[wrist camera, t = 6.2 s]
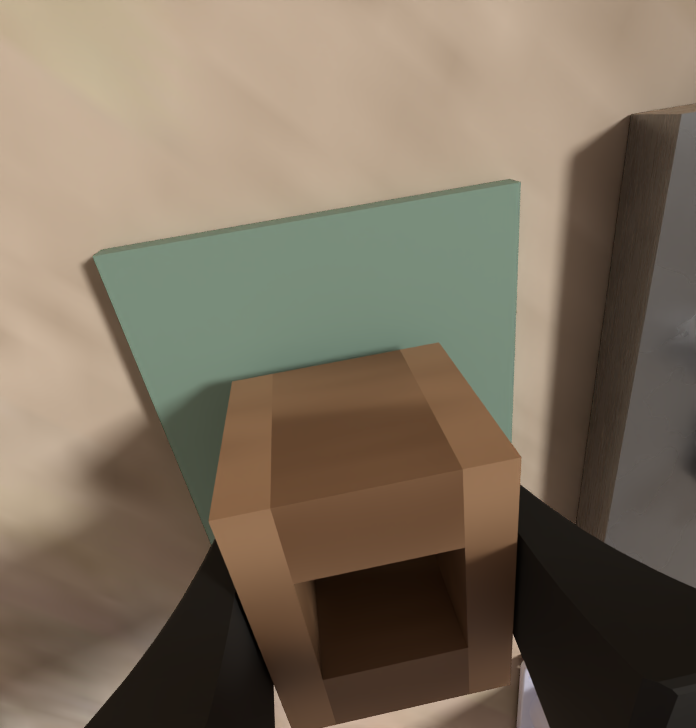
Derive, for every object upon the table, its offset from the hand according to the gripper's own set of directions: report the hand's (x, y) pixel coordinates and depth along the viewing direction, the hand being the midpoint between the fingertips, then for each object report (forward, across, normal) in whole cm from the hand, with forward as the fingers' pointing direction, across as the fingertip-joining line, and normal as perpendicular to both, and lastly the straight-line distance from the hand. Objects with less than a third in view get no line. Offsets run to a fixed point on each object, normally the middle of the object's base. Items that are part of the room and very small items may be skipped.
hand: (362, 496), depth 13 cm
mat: (+2, 0, 0) cm, 2 cm away
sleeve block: (+1, 0, 0) cm, 1 cm away
